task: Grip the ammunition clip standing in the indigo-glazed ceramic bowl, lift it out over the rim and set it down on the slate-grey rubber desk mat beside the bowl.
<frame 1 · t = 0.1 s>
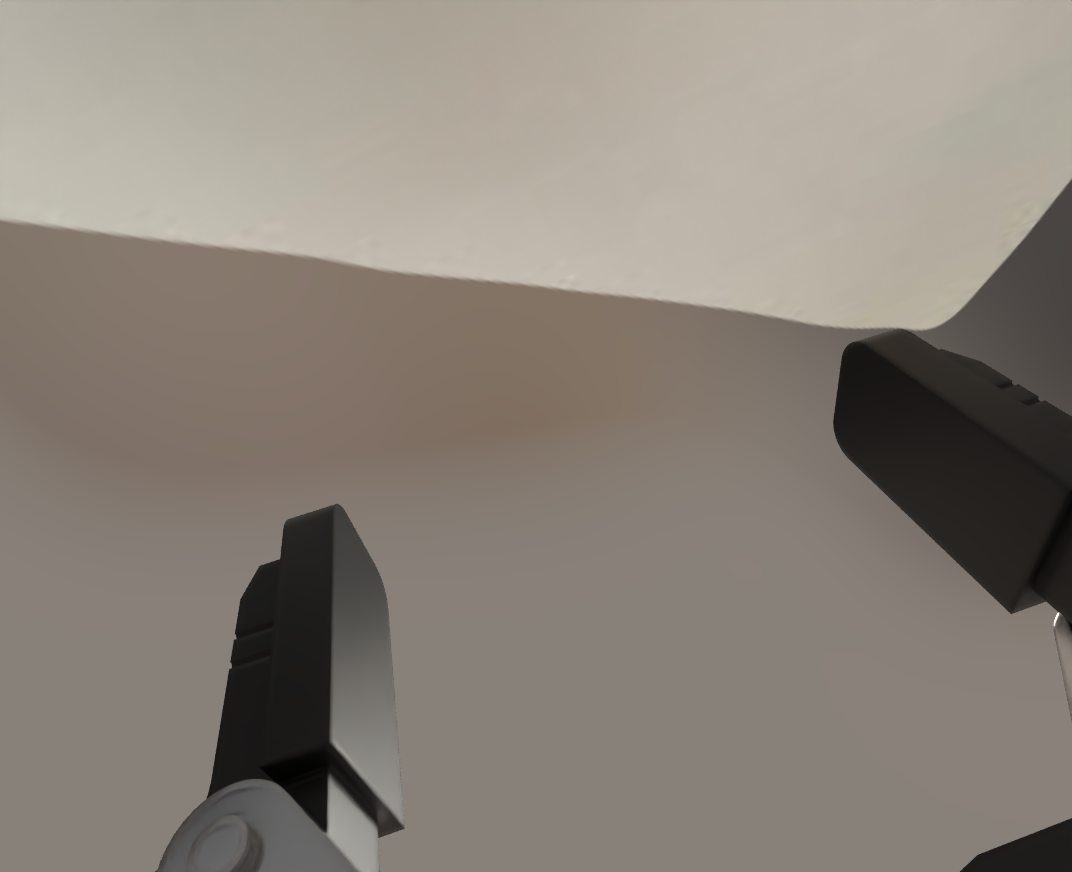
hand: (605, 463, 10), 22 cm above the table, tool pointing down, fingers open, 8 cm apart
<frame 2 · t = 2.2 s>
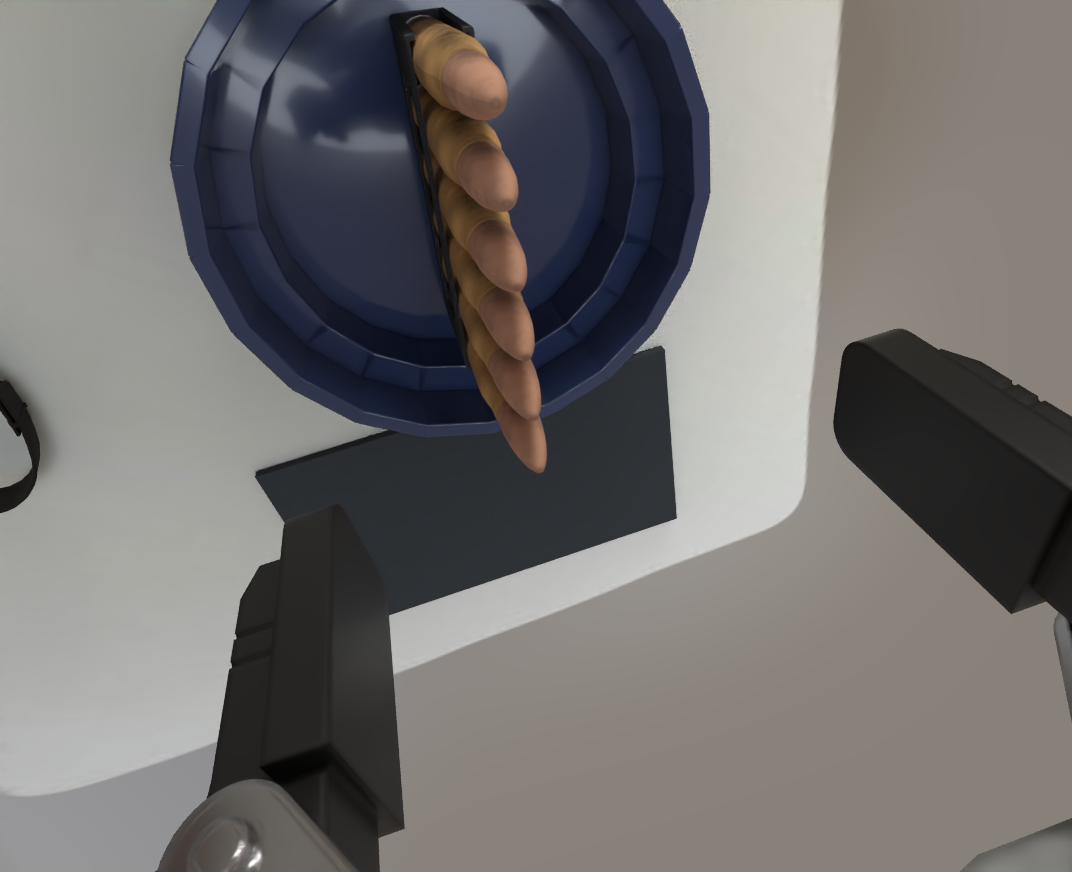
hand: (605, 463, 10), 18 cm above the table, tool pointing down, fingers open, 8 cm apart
ammunition clip: (446, 181, 23), resting on bowl
bowl: (446, 181, 24), on the table
desk mat: (493, 495, 33), on the table
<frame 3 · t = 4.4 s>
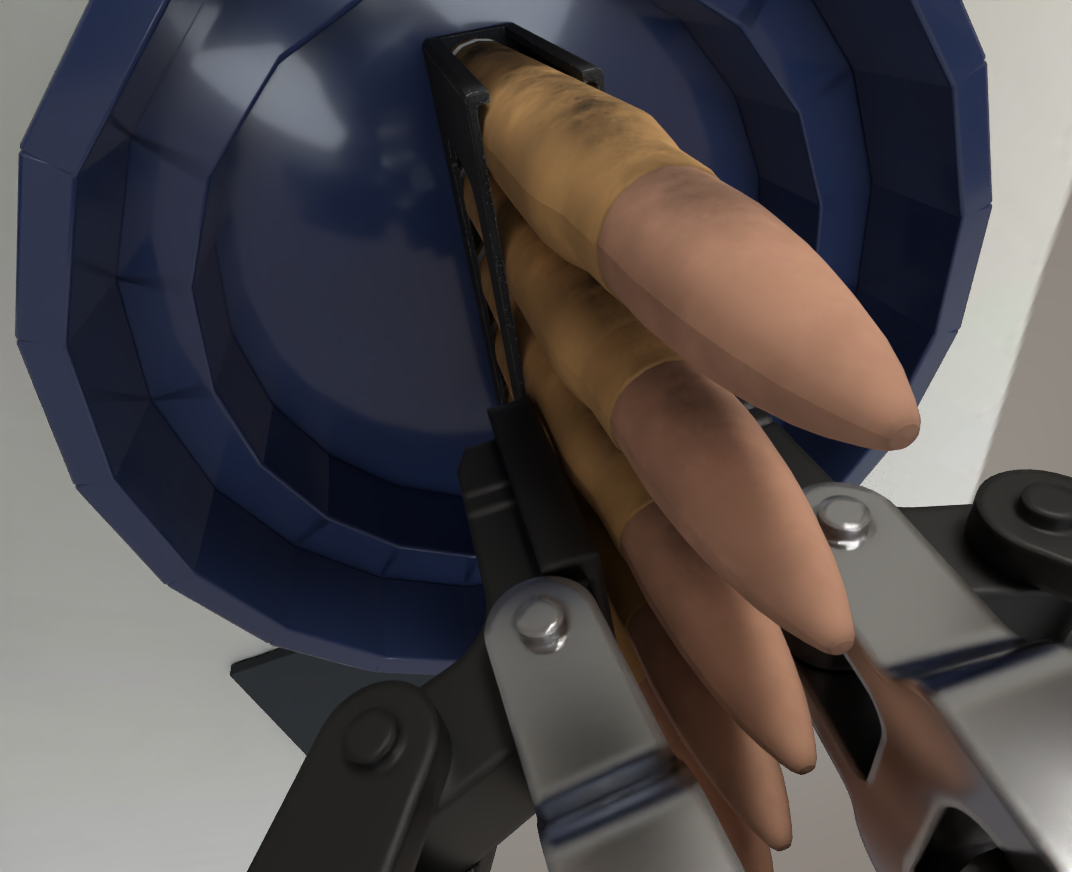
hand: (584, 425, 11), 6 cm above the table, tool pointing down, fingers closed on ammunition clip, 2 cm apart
ammunition clip: (511, 287, 15), resting on bowl, touching gripper
bowl: (510, 286, 15), on the table
desk mat: (550, 662, 25), on the table
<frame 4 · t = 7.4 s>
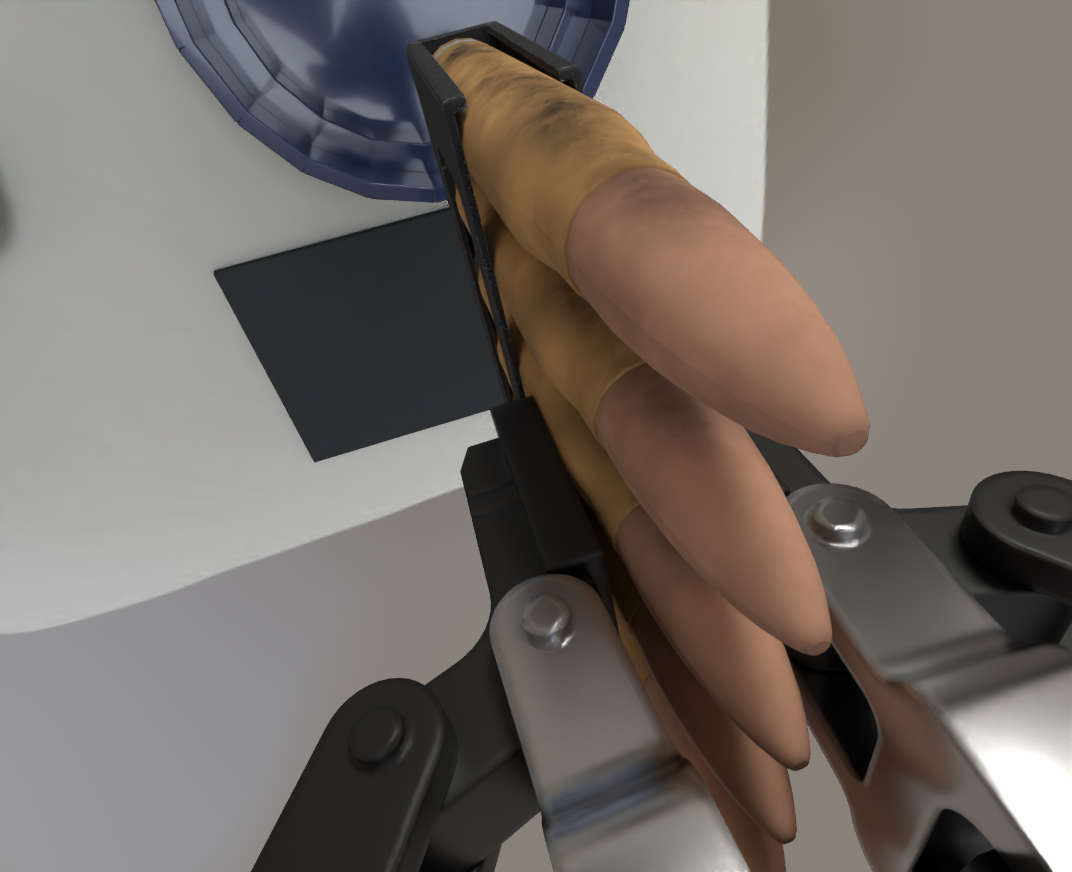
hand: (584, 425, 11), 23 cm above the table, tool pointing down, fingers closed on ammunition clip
ammunition clip: (510, 285, 15), point 17 cm above the table, touching gripper
desk mat: (451, 323, 34), on the table
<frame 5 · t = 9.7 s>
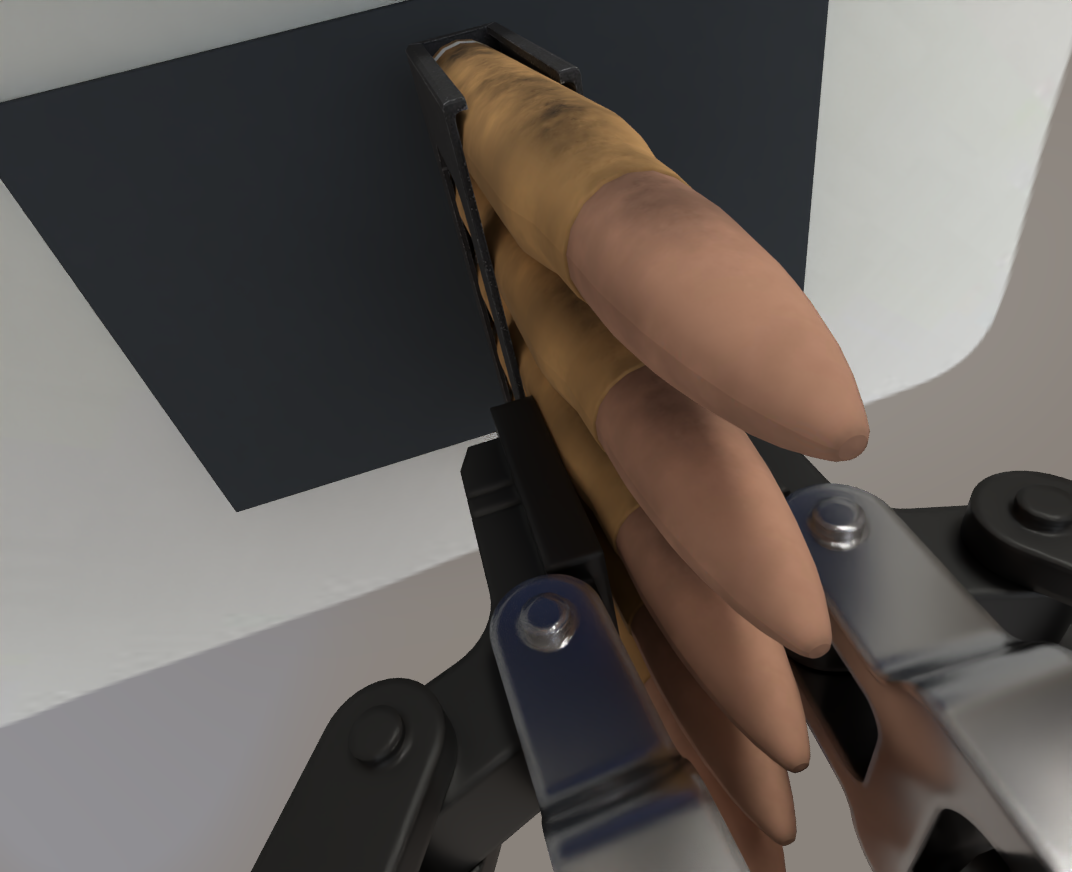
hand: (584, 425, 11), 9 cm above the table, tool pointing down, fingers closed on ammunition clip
ammunition clip: (511, 286, 15), point 3 cm above the table, touching gripper
desk mat: (484, 250, 18), on the table
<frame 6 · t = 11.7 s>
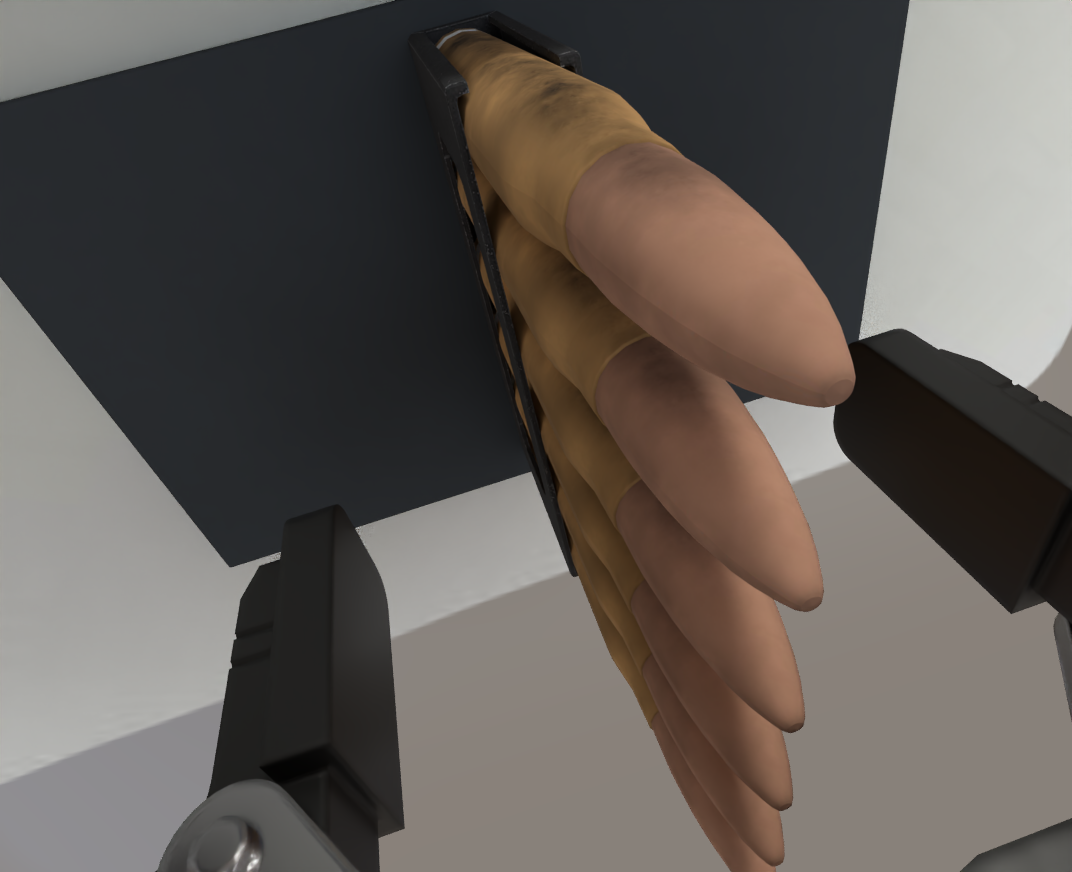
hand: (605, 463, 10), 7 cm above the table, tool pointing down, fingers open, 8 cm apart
ammunition clip: (512, 276, 15), resting on desk mat
desk mat: (508, 278, 16), on the table
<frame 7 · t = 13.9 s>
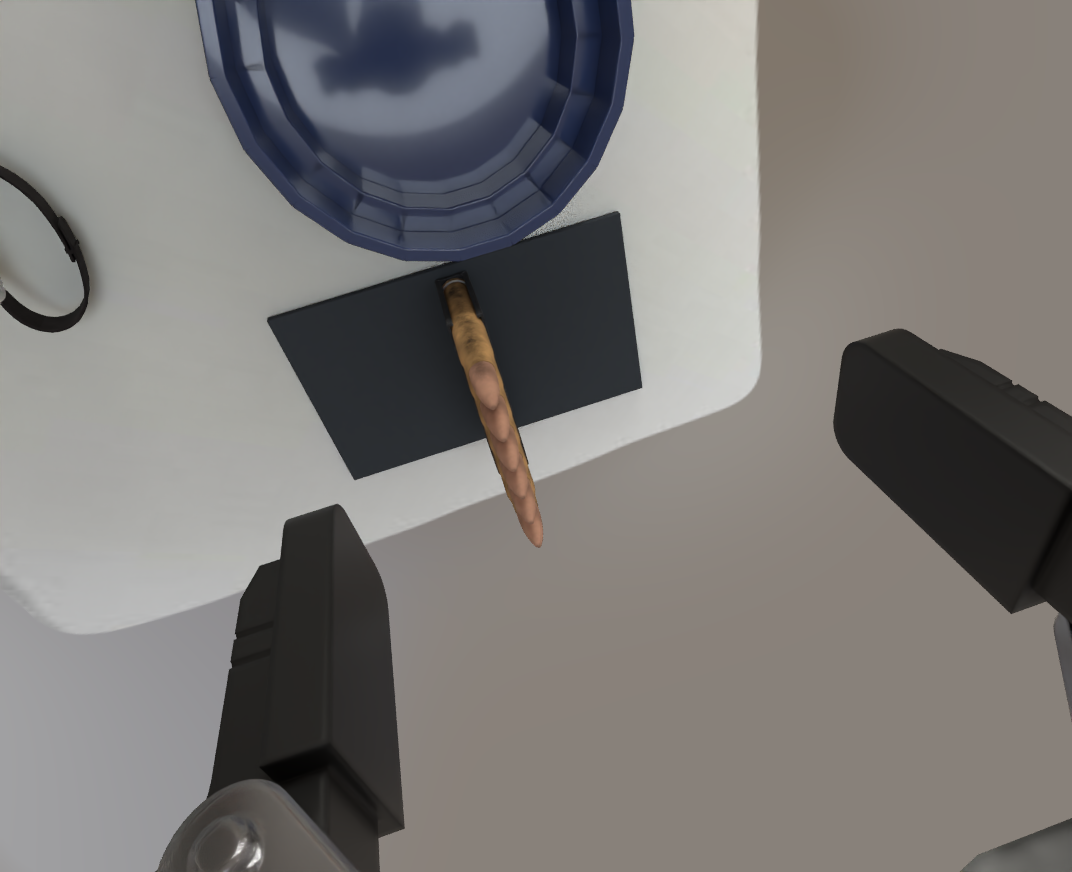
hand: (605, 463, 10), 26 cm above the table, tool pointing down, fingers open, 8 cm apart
watch: (28, 236, 29), on the table
ammunition clip: (476, 354, 38), resting on desk mat
bowl: (420, 44, 28), on the table
desk mat: (474, 355, 38), on the table
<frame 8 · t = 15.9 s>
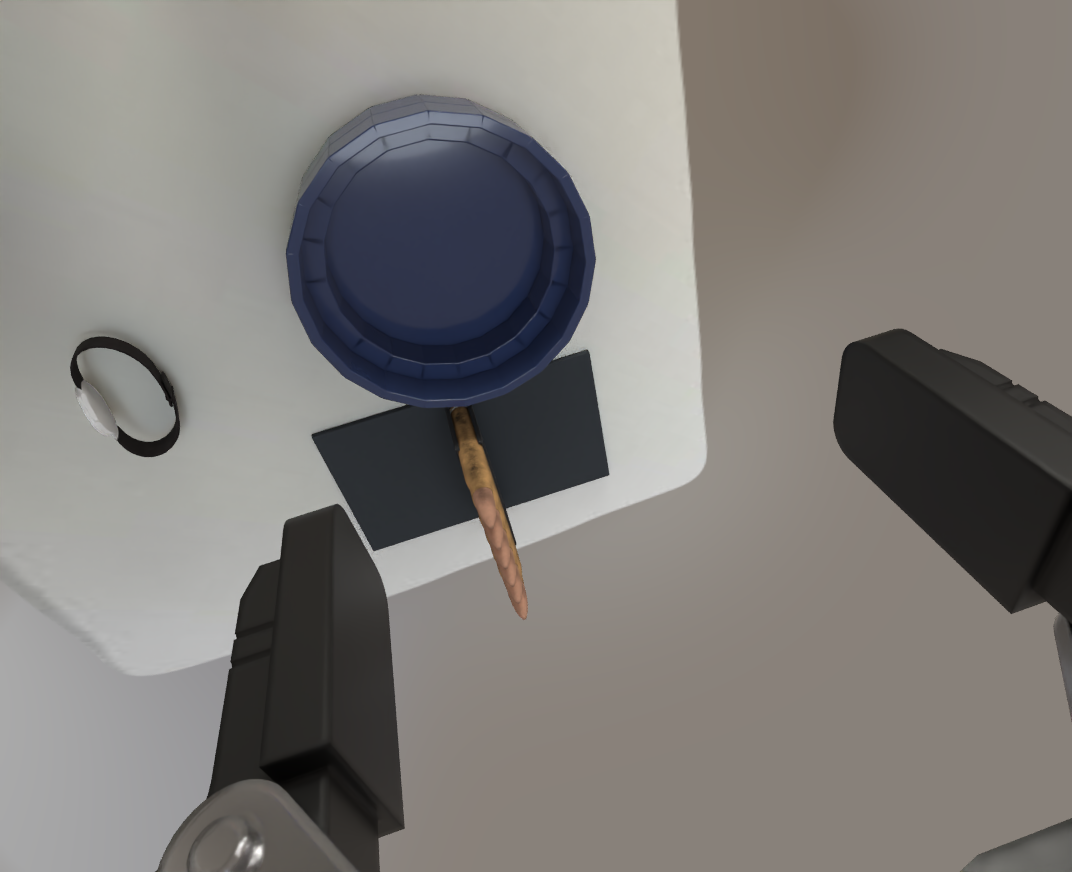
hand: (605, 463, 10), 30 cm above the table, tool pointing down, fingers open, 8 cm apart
watch: (135, 384, 38), on the table
ammunition clip: (475, 455, 47), resting on desk mat
bowl: (438, 247, 37), on the table
desk mat: (473, 455, 47), on the table
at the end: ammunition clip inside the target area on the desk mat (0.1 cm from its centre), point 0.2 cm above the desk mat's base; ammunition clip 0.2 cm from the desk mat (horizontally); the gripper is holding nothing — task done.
